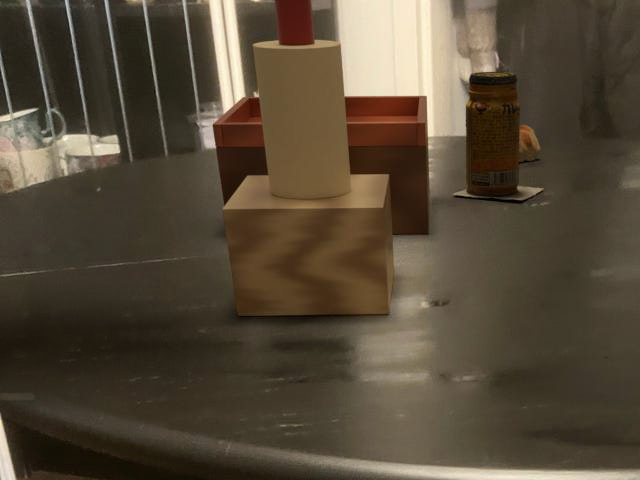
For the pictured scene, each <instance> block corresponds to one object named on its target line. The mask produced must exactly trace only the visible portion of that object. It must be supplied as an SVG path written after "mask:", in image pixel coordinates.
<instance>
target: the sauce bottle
mask: <svg viewBox="0 0 640 480" xmlns="http://www.w3.org/2000/svg"><path fill="white" fill-rule="evenodd" d="M312 8H313V7H312V0H274V9H275V20H276V29H277V39H278V40H268V41H260V42H255V43H252V50H253V51H252V52H253V56H254V57H253V58H254V59H253V60H254V67H255V76H256V85H257V91H258V97H259V101H260V110H261V118H262V126H263V135H264V143H265V152H266V160H267V168H268V177H269V185H270V192H271V193H272V194H273V195H275V196H278V197H283V198H290V199H322V198H330V197H336V196H340V195H343V194H346V193H348V192H350V191H351V177H350V164H349V150H348V136H347V123H346V109H345V96H346V95H345V84H344V83H345V82H344V69H343V55H342V44H341V42H340V41H336V40H325V39H315V29H314V19H313V9H312Z"/></svg>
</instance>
